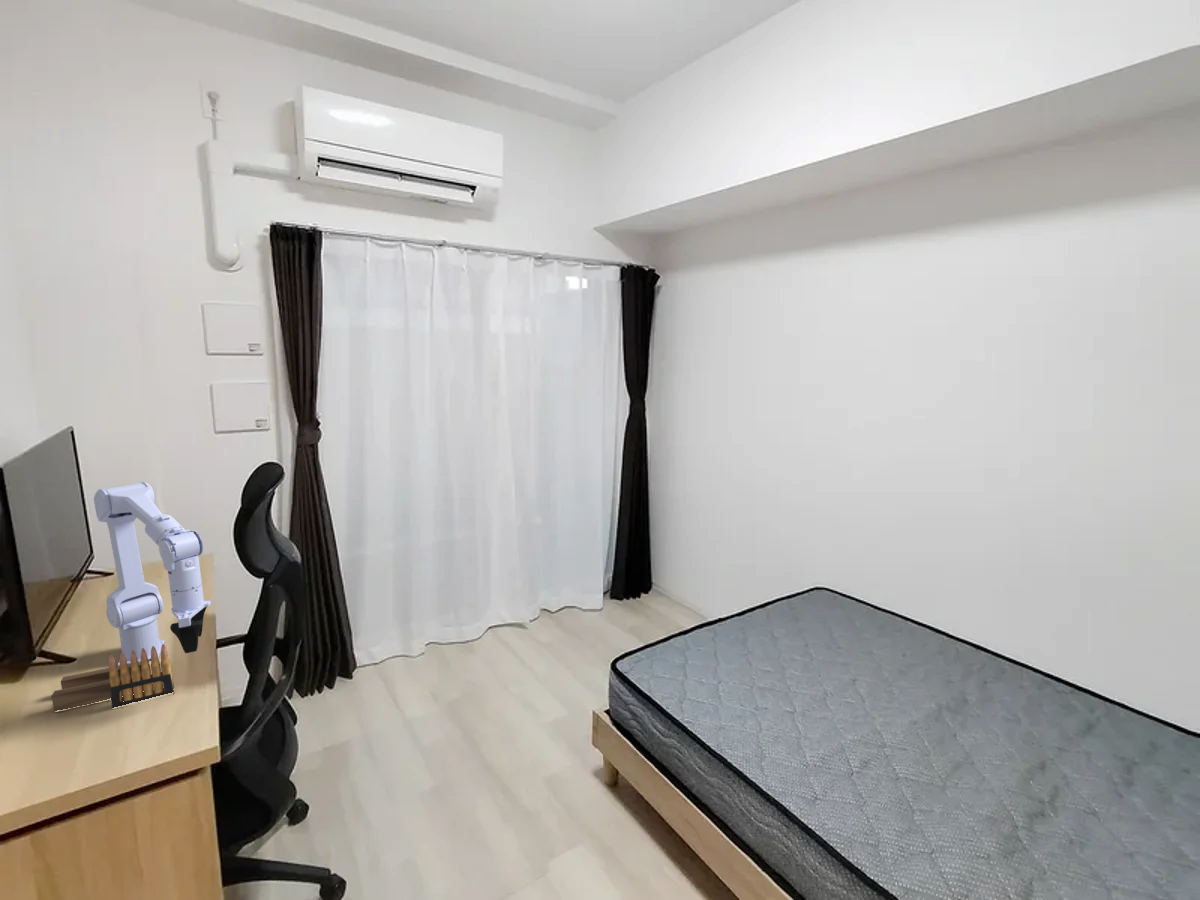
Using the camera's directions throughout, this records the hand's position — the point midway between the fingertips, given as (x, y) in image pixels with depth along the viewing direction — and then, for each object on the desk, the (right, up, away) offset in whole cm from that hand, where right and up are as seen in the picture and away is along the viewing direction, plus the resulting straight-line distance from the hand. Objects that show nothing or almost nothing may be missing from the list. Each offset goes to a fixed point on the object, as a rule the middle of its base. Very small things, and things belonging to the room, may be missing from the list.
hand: (193, 644), depth 128 cm
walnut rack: (-19, -11, -1) cm, 22 cm away
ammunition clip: (-9, -12, -3) cm, 15 cm away
